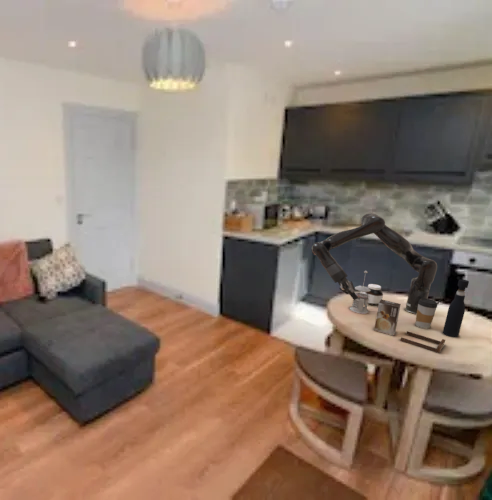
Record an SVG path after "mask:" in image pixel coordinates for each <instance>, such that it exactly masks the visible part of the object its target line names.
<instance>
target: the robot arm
mask: <svg viewBox="0 0 492 500" xmlns="http://www.w3.org/2000/svg"><path fill="white" fill-rule="evenodd" d="M360 223H361V225H360V226H356V227H355V228H351V229H347V230H342V231H339V232H336V233H334V234H332V235H331V236H329V237H327V238H326V239H324V240H322V241H317V242H314V243H313V245H312V246H311V253H312V254H313V255H314V256H316V257H317V258H318V260H319V261H320V263H321V265H322V267H323V268H324V269H325V271H326V272H327V274H328V275H329V276H330V278H331V279H332V282H334V283H338V285H339V286H340V287H339V290H340V291H341V292H343V293H345V294H346V295H349V296H350V297H351V298H352V299H353V300H355V299H357V298H358V297H357V295H356V294H355V293H356V292H355V290H356V289H355V286H354V283H353V281H351V280H350V281H349V279H347V277H348V274H347V273H346V272H345V271H344V268H343V267H342V266H341V265H340V264H339V263H338V262H337V260H336V259H335V258H334V257H333V256H332V254H331V252H330V251H331V250H333V249H336V248H338V247H340V246H342V245H344V244H347V243H349V242H351V241H353V240H357V239H360V238H363V237H365V236H368V235H369V236H370V235H373V234H374V235H375V236H376V237H377V238H378V239H379V240H380V241H381V242H382V243H383V245H385V246H386V247H387V248H388V249H390V250H391V251H392V252H393V253H394V254H396V255H397V256H399V257H400V258H402V259H403V260H404V261H405V262H406V263H407V264H408V265H409V267H411V268H412V269H413V270H414V271H415V272H417V273H418V275H417V277H412V278H411V280H410V285H409V289H408V294H407V299H406V303H405V307H404V310H405V311H406V312H407V313H410V314H414V315H417V309H418V301H419V300H420V299H421V298H425V299H429V295H430V289H431V285H432V284H433V282H434V280H435V277H436V274H437V270H438V264H437V262H436V261H435V260H433V259H430V258H428V257H426V256H423V255H422V254H420V253H418V252H417V251H416V250H415V249H414V248H413V246H412V244H411V243H410V241H409V240H408V239H407V238H405V237H404V236H403V235H402V234H400V233H398V232H397V231H396V230H394V229H392V228H391V227H389V226H387V225H386V221H385V220H384V218H383V217H381V216H380V215H378V214H375V213H373V212H372V213H371V212H370V213H366V214H364V215H362V216H361V218H360ZM353 300H352V301H353ZM436 302H437V305H438V304H439V303H442V300H441V299H439V300H438V301H436Z"/></svg>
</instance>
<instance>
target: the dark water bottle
mask: <svg viewBox="0 0 492 500" xmlns="http://www.w3.org/2000/svg"><path fill="white" fill-rule="evenodd" d="M469 285H470V281H469V280H468V279H463V278H461V279H458V282H457V287H458V289H457V291H456V293H455V295H454V298H453V300H452V301H451V302H450V304H449V306H448V309H447V313H446V317H445V322H444V325H443V329H442V334H443V335H444V336H446V337H450V338H458V337H459V335H460V333H461V332H460V331H461V328H462V324H463V320H464V317H465V312H466V304H465V298H466V292H465V291H466V289H468V288H469Z"/></svg>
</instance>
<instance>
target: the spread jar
mask: <svg viewBox="0 0 492 500" xmlns="http://www.w3.org/2000/svg"><path fill="white" fill-rule="evenodd" d="M367 287H368V288H369V289H370V290H371V291H369V292H362V291H359V293H362V294H366V295H367V294H369V295H368V296H370V298H369V297H368V298H369V300H368V304H369V306H378V305H379V302H380V300H381V299H382V300H383V297H384V294H383V293H384V292H383V291H382V286H381V285H379V284H375V283H368V285H367ZM360 300H364V299H360ZM366 300H367V299H366ZM366 300H364V301H366ZM369 301H370V303H369Z"/></svg>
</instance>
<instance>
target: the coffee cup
mask: <svg viewBox="0 0 492 500" xmlns="http://www.w3.org/2000/svg"><path fill="white" fill-rule="evenodd" d="M437 302H438V301H436V300H434V299H430V298H428V299H425V298H421V299H420V300H419V301H418V309H417V314H415V326H416V327H418V328H419V329H424V330H429V329H430V328H431V326H432V323H433V320H434V317H435V313H436V311H437V308H438V304H437Z"/></svg>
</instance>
